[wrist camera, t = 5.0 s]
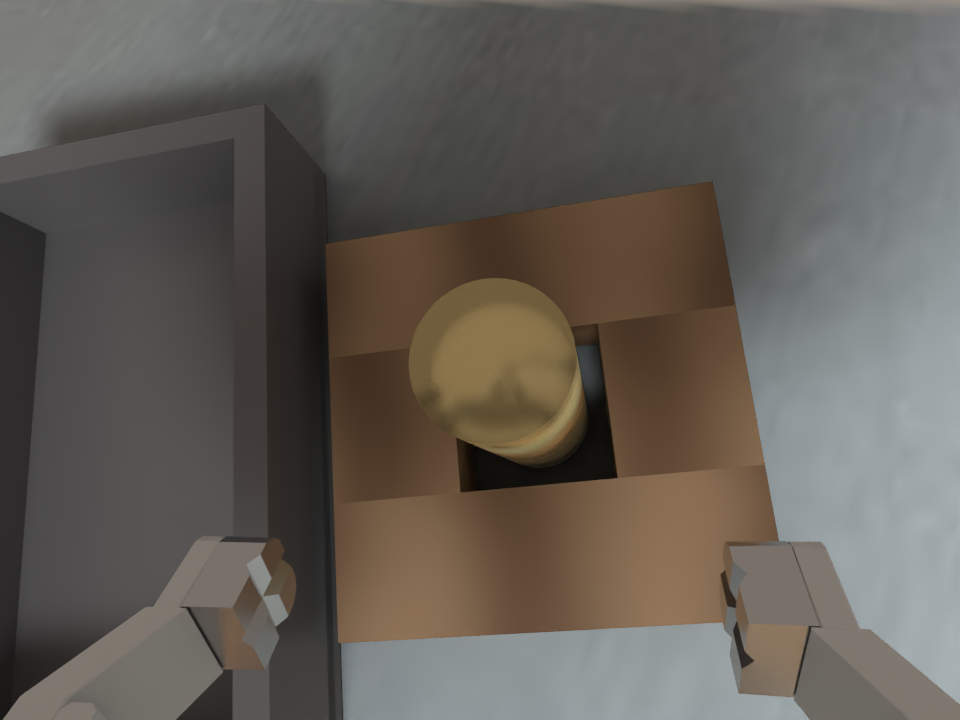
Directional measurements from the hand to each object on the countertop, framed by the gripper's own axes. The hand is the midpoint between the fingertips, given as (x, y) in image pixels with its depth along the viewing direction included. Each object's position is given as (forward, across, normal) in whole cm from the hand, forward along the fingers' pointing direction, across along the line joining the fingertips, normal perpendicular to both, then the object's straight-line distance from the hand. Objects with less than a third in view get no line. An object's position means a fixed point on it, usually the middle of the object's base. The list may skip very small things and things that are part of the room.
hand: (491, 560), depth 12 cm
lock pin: (+9, 0, +3) cm, 9 cm away
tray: (+8, +13, +4) cm, 16 cm away
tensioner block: (+9, 0, +3) cm, 9 cm away
